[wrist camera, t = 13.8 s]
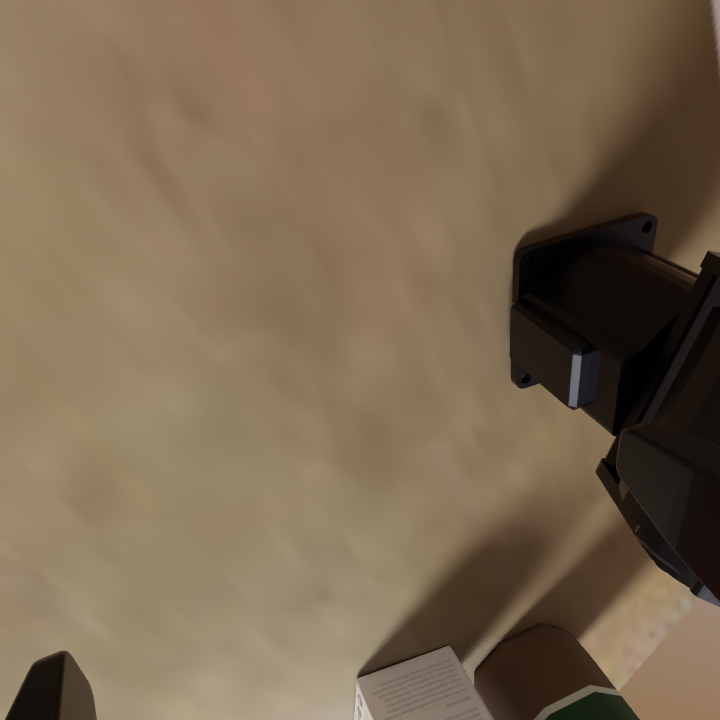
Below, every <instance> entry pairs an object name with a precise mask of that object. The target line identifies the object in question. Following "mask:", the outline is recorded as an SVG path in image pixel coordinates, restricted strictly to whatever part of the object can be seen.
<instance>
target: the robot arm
mask: <svg viewBox="0 0 720 720" xmlns="http://www.w3.org/2000/svg"><path fill="white" fill-rule="evenodd" d="M643 225H644V226H643ZM642 227H643V228H642ZM656 228H657V219H656V217H655V216H653V215H651V214H648V213H646V212H641V213H638V214H634V215H631V216H627V217H624V218H621V219H617V220H614V221H610V222H607V223H603V224H600V225H596V226H593V227H590V228H586V229H583V230H579V231H576V232H572V233H569V234H565V235H562V236H559V237H555V238H552V239H548V240H545V241H541V242H538V243H534V244H531V245H528V246H524V247H522V248H520V249H519V250H518V251H517V253H516V254H515V256H514V260H513V299H512V306H511V318H510V358H511V380H512V382H513V383H514V384H515V385H516V386H517V387H519V388H521V389H523V388H527V387H530V386H533V385H536V384H539V383H540V384H541V385H542V386H544V387H545V388H546V389H547V390H548V391H549V392H551V393H552V394H553V395H554V396H555V397H556V398H558V399H559V400H560V401H561V402H562V403H563V404H565V405H566V406H567V407H569V408H570V409H572V410H576V409H579V408H581V409H582V410H583V411H584V412H586V413H587V414H588V415H589V416H590V417H592V418H593V419H594V420H595V421H596V422H598V423H599V424H600V425H601V426H602V427H604V428H605V429H606V430H607V431H608V432H610V433H611V434H612V435H613V436H616V438H615V440H614V442H613V444H612V445H611V447H610V449H609V451H608V453H607V455H606V457H605V458H602V459H601V461H600V463H599V465H598V467H597V469H596V474H597V475H598V477H599V478H600V480H601V482H602V483H603V485H604V486H605V488H606V490H607V491H608V493H609V494H610V496H611V498H612V499H613V501H614V502H615V504H616V505H617V507H618V509H619V510H620V512H621V513H622V515H623V517H624V518H625V520H626V521H627V523H628V525H629V526H630V528H631V529H632V531H633V532H634V534H635V536H636V537H637V539H638V540H639V542H640V544H641V545H642V547H643V548H644V550H645V551H646V552H647V553H648V555H649V556H650V557H651V558H652V559H653V560H654V562H655V564H656V565H657V566H658V567H659V568H660V569H661V570H663V571H665V572H667V573H668V574H669V575H671V576H672V577H673V578H675V579H676V580H678V581H679V582H681V583H683V584H684V585H686V586H687V587H689V588H690V591H691V592H692V593H693V594H694V595H695V596H696V597H698V598H701V599H703V600H705V601H708V602H710V603H712V604H715V605H717V606H719V607H720V253H718V252H713V251H708V252H707V254H706V256H705V257H704V259H703V261H702V263H701V265H700V267H701V268H702V270H701V272H700V274H697V273H695V272H692V271H690V270H688V269H686V268H684V267H682V266H680V265H677V264H675V263H673V262H671V261H669V260H667V259H665V258H662V257H660V256H658V255H656V254H654V253H653V247H654V241H655V234H656ZM529 256H530V259H529V261H528V262H527V263H526V264H525V260H526V259H527V258H528V257H529ZM524 375H525V376H524ZM523 376H524V377H523ZM522 377H523V378H522ZM5 720H97V718H96V711H95V704H94V697H93V693H92V689H91V686H90V684H89V682H88V680H87V679H86V677H85V675H84V674H83V672H82V671H81V669H80V668H79V666H78V665H77V663H76V662H75V660H74V658H73V657H72V655H71V654H70V653H69V652H67V651H59V652H57V653H54V654H52V655H49V656H47V657H44V658H42V659H39V660H38V661H36V662H35V663H34V664H33V665H32V666H31V668H30V669H29V671H28V674H27V676H26V678H25V680H24V682H23V684H22V686H21V688H20V690H19V692H18V694H17V696H16V698H15V700H14V702H13V704H12V706H11V708H10V710H9V712H8V714H7V716H6V718H5Z"/></svg>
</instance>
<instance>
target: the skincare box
mask: <svg viewBox="0 0 720 720" xmlns="http://www.w3.org/2000/svg"><path fill="white" fill-rule="evenodd" d="M354 720H493V718H492V716H491V714H490V713H489V711H488V709H487V708H486V706H485V704H484V702H483V701H482V699H481V697H480V695H479V694H478V692H477V690H476V689H475V687H474V685H473V684H472V682H471V680H470V678H469V677H468V675H467V673H466V671H465V670H464V668H463V666H462V665H461V663H460V661H459V659H458V658H457V656H456V654H455V653H454V651H453V650H452V648H451V647H450V646H446V647H443V648H441V649H438V650H435V651H432V652H429V653H427V654H424V655H421V656H418V657H416V658H413V659H410V660H407V661H405V662H402V663H399V664H396V665H393V666H390V667H388V668H385V669H382V670H379V671H376V672H374V673H371V674H368V675H365V676H362V677H360V678H358V679H357V684H356V699H355V713H354Z"/></svg>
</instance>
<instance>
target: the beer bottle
mask: <svg viewBox="0 0 720 720" xmlns="http://www.w3.org/2000/svg"><path fill="white" fill-rule="evenodd" d="M474 684H475V689H476V690H477V692H478V694H479V695H480V697H481V699H482V701H483V702H484V704H485V706H486V708H487V709H488V711H489V713H490V714H491V716H492V718H493V720H640V719H639V718H638V717H637V716H636V714H635V713H634V712H633V710H632V709H631V708H630V707H629V705H628V704H627V703H626V702H625V700H624V699H623V698H622V696H621V695H620V694H619V692H618V691H617V690H616V688H615V687H614V686H613V684H612V683H611V682H610V681H609V679H608V678H607V677H606V675H605V674H604V673H603V672H602V670H601V669H600V668H599V666H598V665H597V664H596V662H595V661H594V660H593V659H592V657H591V656H590V655H589V654H588V652H587V651H586V650H585V649H584V648H583V647H582V646H581V644H580V643H579V642H578V641H577V640H576V639H575V637H574V636H573V635H572V634H571V633H569V632H567V631H565V630H562V629H559V628H555V627H551V626H547V625H543V624H539V625H537V626H535V627H533V628H530V629H528V630H526V631H524V632H522V633H520V634H517V635H515V636H513V637H511V638H509V639H507V640H504V641H502V642H501V643H500V644H499V646H498V647H497V648H496V649H495V650H494V651H493V652H492V653H491V654H490V656H489V657H488V658H487V659H486V660H485V661H484V662H483V663H482V665H481V666H480V667H479V668H478V669H477V670H476V671H475V672H474Z"/></svg>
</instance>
